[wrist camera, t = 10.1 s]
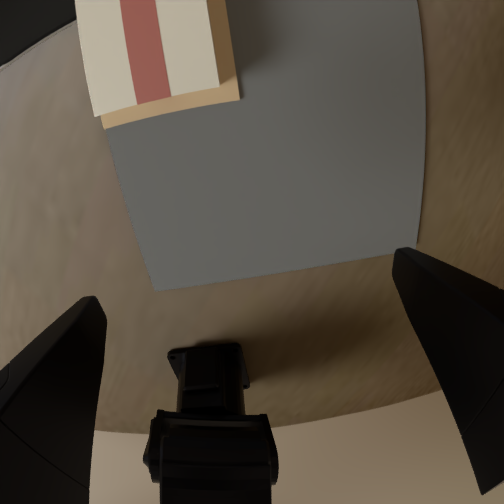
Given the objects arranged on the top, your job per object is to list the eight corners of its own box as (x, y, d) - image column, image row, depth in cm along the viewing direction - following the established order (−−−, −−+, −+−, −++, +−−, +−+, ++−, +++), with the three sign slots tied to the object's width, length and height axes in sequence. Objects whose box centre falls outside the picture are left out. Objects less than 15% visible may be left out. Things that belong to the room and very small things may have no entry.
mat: (412, 245, 24) (417, 251, 23) (156, 287, 23) (154, 293, 23) (392, -87, 10) (397, -90, 9) (81, -63, 10) (77, -67, 9)
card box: (94, -39, 11) (70, -56, 8) (196, -67, 11) (191, -92, 8) (116, 108, 16) (94, 117, 13) (220, 85, 16) (219, 87, 13)
